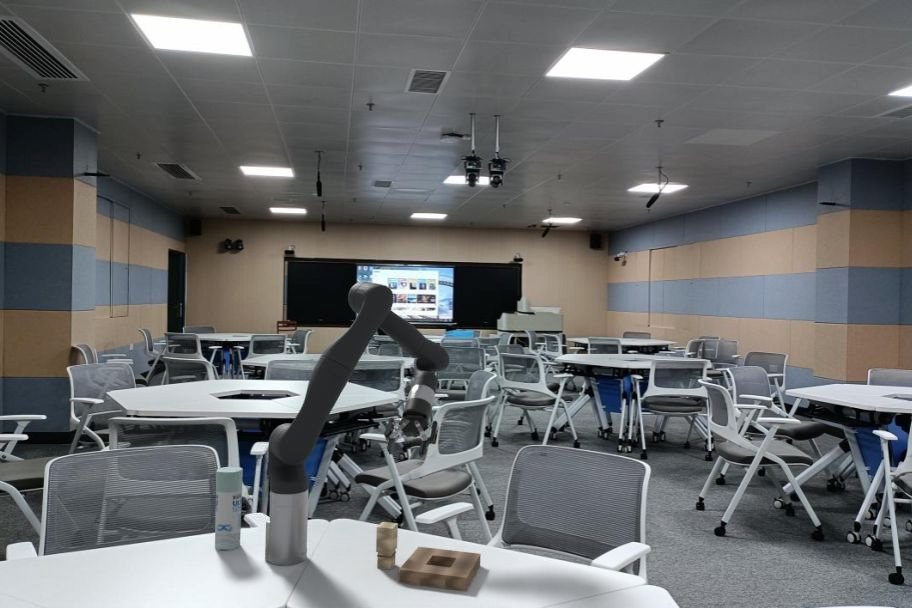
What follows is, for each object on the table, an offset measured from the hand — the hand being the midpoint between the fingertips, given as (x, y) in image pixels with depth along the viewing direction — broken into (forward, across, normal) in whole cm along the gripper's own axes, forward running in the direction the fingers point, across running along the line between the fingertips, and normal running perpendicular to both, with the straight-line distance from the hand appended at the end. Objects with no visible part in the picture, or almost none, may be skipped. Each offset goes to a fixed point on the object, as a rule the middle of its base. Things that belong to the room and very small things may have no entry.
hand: (405, 454), depth 170 cm
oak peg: (+26, 0, +8) cm, 28 cm away
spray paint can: (+27, -44, +9) cm, 52 cm away
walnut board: (+27, +14, +8) cm, 31 cm away
